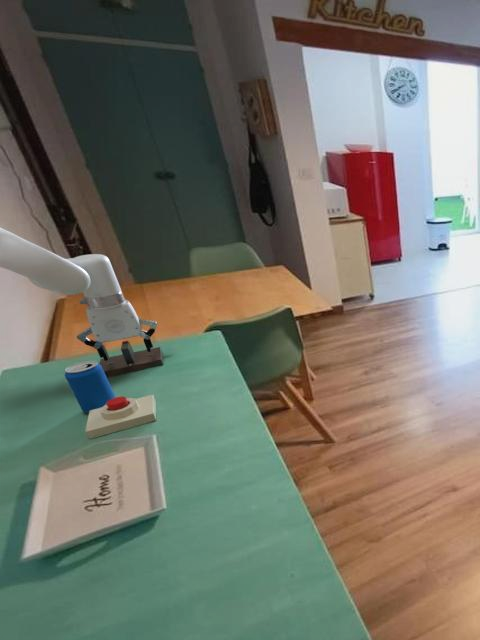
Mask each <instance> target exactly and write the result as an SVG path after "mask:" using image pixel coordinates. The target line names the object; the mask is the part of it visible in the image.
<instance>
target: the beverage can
mask: <svg viewBox="0 0 480 640" xmlns="http://www.w3.org/2000/svg"><path fill="white" fill-rule="evenodd" d="M99 364H100V363H98V361H96V360H85V361H80V362H76V363H73V364H71V365H69V366H67V367H66V368H65V369H64V371H65V373H64V377H65V380H66V381H67V383H68V386H69V388H70V389H71V391H72V393H73V395H74V397H75V399H76V402H77V403H78V405H79V408H80V409H81V411H82V413H85V414H89V411H90V410H93V409H97V408H101V407H103V406H105V405H106V403H107V402H108V401H109V400H111V399H113V398H116V397H117V396H116V395H115V393H114V391H113V388H112V386H111V384H110V382H109V380H108V377H106V375H105V373H104V371H103V369H102V366H101V365H99Z"/></svg>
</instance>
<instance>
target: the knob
mask: <svg viewBox="0 0 480 640" xmlns="http://www.w3.org/2000/svg"><path fill="white" fill-rule="evenodd" d="M120 351H121V353H122V354H121V355H123V356H124V358H125V361H126V363H127V364H128V363H132V362H134V355H135V354H134V352H135V351H134V349H133V347H132V345H131V341H130V340H123V341H122V342H121V346H120Z"/></svg>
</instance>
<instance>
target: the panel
mask: <svg viewBox="0 0 480 640" xmlns="http://www.w3.org/2000/svg"><path fill="white" fill-rule="evenodd" d="M133 352H134V354H135V355H134V362H132V363H128V364H127V363H126V361H125V358H124V356H123V354H118V355H112V356H109V358H108V360H107V361H105V360H104V358H100V359H99V363H98V364H99V365H101V366H102V369H103V371H104V373H105V375H106V377H107V378H113V377H116V376H120V375H125V374H129V373H134V372H138V371H143V370H147V369H152V368H156V367H160V366H164V357H163V350H162V348H161V346H158V347H153V348H151V352H148V351H147V349H142V350H137V351H133Z"/></svg>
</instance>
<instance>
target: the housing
mask: <svg viewBox="0 0 480 640" xmlns="http://www.w3.org/2000/svg"><path fill="white" fill-rule="evenodd" d="M126 398H127V401H128V403H129V405H128V406H127V407H125V408H122V409H119V410H116V411H110V410H109V409H108V406H107V404H106V405H105V406H103V407H101V408H97V409H93V410H90V411H89V413H88V416H87V421H86V427H85V430H84V431H85V434H86V436H87V438H88V440H93V439H97V438H99V437H103V436H107V435H110V434H113V433H117V432H120V431H124V430H129V429H132V428H135V427H138V426H142V425H146V424H149V423H153V422H156V421H157V401H156V399H155V396H154V394H150V395H149V394H148V395H145V396H142V397H138V398H133V397H126Z"/></svg>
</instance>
